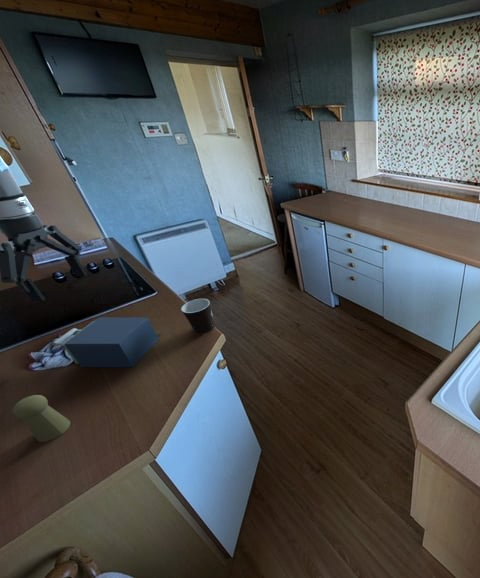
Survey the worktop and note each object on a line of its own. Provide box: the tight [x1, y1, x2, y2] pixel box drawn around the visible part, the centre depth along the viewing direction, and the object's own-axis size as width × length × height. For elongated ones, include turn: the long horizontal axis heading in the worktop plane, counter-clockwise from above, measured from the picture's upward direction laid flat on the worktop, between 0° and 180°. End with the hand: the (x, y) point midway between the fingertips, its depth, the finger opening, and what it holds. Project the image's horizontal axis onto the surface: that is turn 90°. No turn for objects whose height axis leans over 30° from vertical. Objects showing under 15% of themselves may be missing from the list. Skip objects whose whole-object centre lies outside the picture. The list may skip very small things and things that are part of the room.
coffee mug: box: [181, 298, 215, 335], centre depth 105 cm, size 12×9×10 cm
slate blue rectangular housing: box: [65, 316, 160, 368], centre depth 92 cm, size 16×13×10 cm
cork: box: [12, 394, 72, 443], centre depth 69 cm, size 6×6×11 cm
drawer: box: [52, 320, 95, 365], centre depth 92 cm, size 20×11×8 cm, turn 91°
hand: (61, 287), depth 85 cm, fingers open, 13 cm apart
